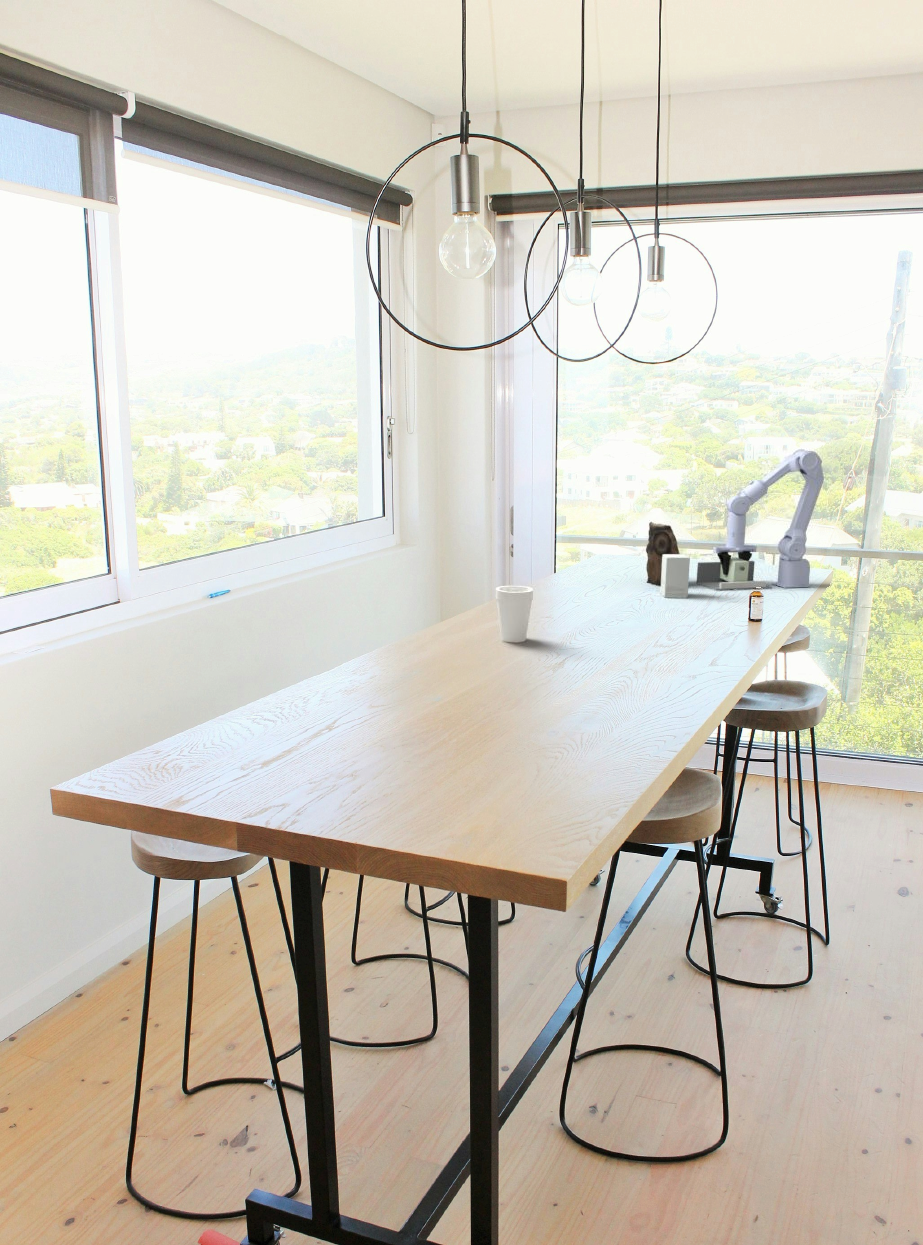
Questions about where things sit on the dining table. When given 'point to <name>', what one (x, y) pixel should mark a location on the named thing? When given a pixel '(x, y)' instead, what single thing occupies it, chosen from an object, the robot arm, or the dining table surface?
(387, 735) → the dining table surface
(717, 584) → the grey piece
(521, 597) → the foam cup
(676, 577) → the supplement box
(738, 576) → the cabinet block
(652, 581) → the owl
